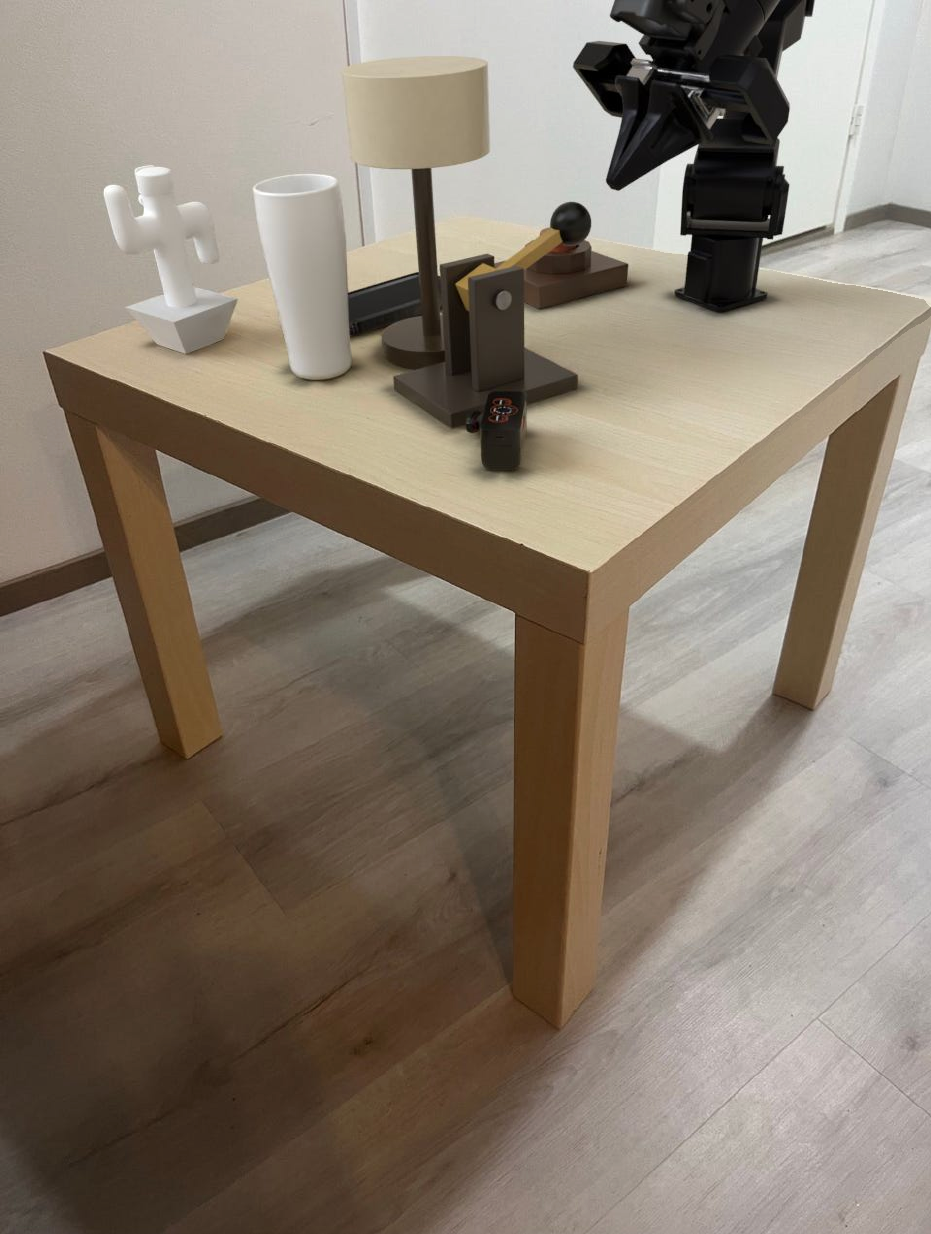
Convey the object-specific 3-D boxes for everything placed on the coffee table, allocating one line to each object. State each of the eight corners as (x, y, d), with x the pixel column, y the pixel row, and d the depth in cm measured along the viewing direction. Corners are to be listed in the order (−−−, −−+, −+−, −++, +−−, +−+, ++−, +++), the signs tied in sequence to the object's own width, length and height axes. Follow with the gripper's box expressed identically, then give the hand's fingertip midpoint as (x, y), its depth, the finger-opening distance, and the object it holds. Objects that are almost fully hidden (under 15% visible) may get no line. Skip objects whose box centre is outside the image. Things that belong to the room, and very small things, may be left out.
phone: (301, 306, 90) (422, 270, 98) (303, 318, 91) (423, 280, 98) (347, 326, 85) (471, 286, 93) (349, 338, 86) (472, 297, 93)
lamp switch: (514, 355, 82) (513, 238, 76) (577, 388, 75) (581, 264, 69) (394, 389, 77) (382, 268, 71) (451, 428, 70) (444, 299, 65)
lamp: (453, 319, 89) (439, 52, 76) (519, 353, 82) (516, 64, 68) (350, 346, 85) (317, 68, 72) (410, 385, 77) (385, 82, 64)
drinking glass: (328, 392, 77) (301, 198, 68) (266, 377, 80) (232, 189, 71) (376, 363, 81) (357, 177, 72) (316, 350, 84) (290, 170, 75)
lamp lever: (578, 227, 75) (567, 190, 73) (604, 235, 73) (593, 197, 70) (464, 312, 73) (449, 277, 71) (486, 324, 71) (472, 288, 69)
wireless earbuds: (528, 427, 70) (527, 386, 68) (520, 473, 64) (520, 430, 62) (466, 426, 71) (464, 386, 69) (453, 472, 65) (451, 429, 63)
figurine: (254, 334, 88) (223, 161, 79) (172, 366, 83) (128, 184, 74) (206, 319, 92) (171, 153, 83) (125, 349, 86) (77, 174, 77)
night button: (561, 242, 96) (561, 224, 94) (583, 250, 93) (583, 231, 92) (532, 249, 94) (532, 230, 93) (554, 257, 92) (554, 238, 91)
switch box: (573, 265, 101) (574, 226, 99) (627, 285, 95) (629, 245, 92) (488, 286, 97) (487, 246, 94) (539, 309, 90) (539, 267, 88)
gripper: (596, -84, 71) (480, 100, 73) (790, -90, 58) (643, 132, 60) (664, 28, 79) (558, 190, 81) (847, 44, 66) (716, 235, 68)
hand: (611, 186), depth 72 cm, fingers closed
